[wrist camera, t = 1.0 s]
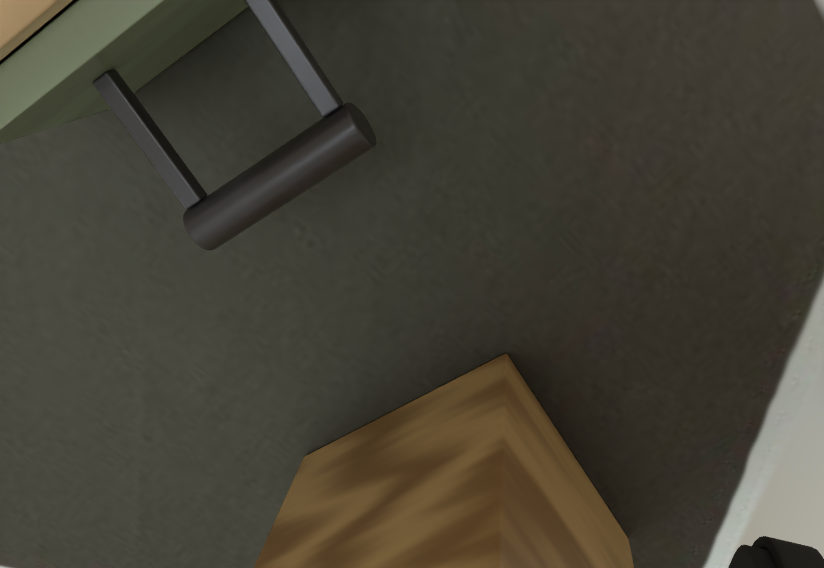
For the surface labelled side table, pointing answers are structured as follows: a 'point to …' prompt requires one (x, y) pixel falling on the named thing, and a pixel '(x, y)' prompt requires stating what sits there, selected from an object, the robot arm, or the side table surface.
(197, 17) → the drawer
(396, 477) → the oak stand
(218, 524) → the side table surface
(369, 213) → the side table surface
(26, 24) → the cabinet
